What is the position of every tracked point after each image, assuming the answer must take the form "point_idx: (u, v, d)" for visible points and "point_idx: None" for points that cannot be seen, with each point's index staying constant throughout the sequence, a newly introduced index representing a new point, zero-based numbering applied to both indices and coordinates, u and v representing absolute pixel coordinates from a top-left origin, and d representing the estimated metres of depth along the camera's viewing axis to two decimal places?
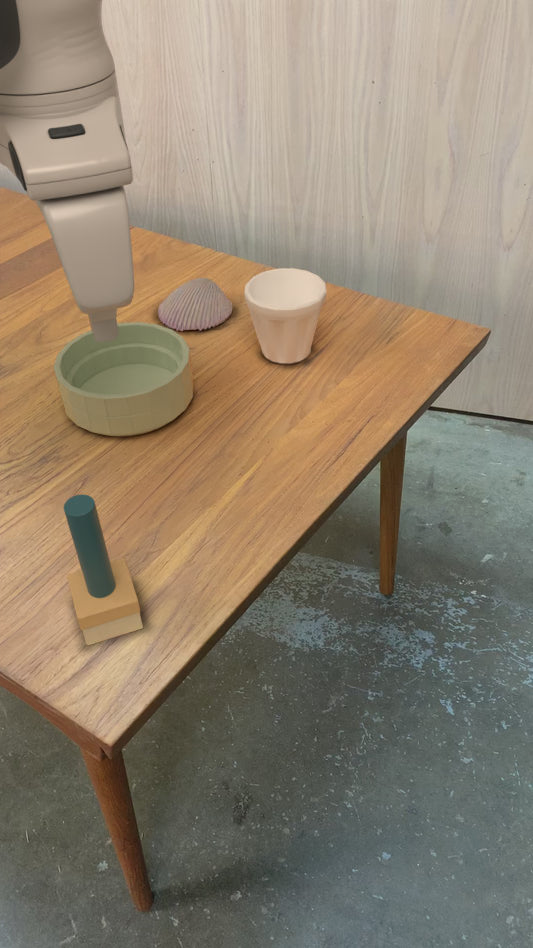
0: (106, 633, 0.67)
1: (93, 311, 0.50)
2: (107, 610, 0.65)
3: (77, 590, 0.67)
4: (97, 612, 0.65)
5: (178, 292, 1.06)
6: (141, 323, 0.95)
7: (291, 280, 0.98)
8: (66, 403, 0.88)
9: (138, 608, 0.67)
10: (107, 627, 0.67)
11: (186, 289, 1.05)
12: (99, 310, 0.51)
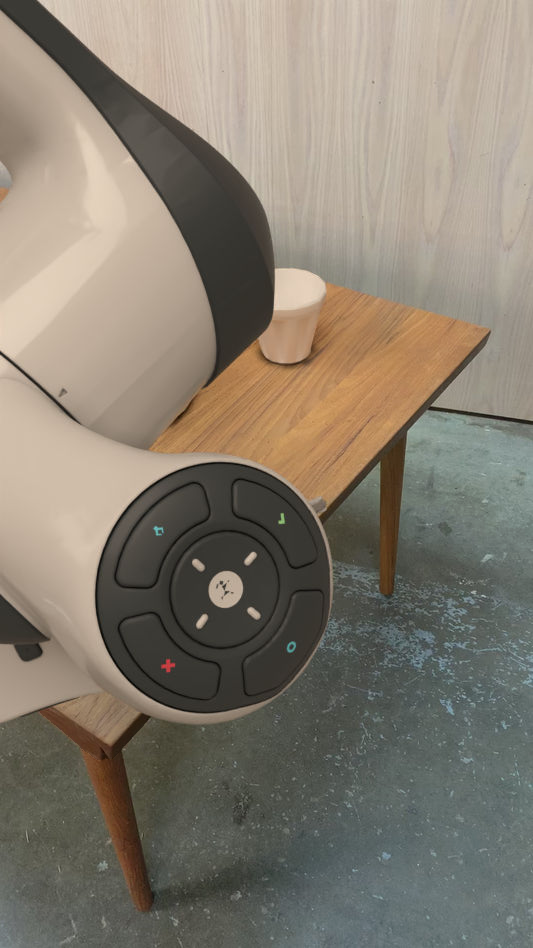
0: None
1: None
2: None
3: None
4: None
5: None
6: None
7: (291, 280, 0.98)
8: None
9: None
10: None
11: None
12: None
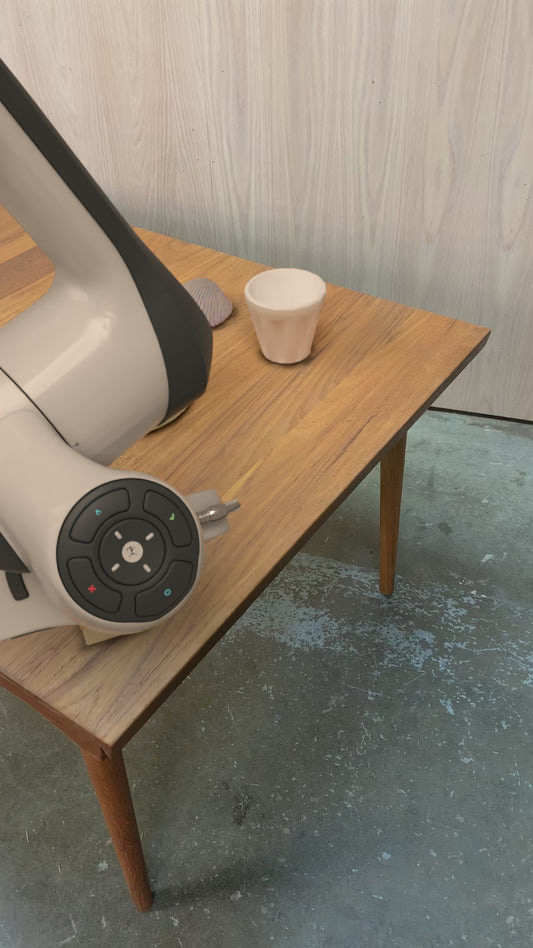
0: (106, 633, 0.67)
1: None
2: None
3: None
4: None
5: None
6: None
7: (291, 280, 0.98)
8: None
9: None
10: None
11: (186, 289, 1.05)
12: None
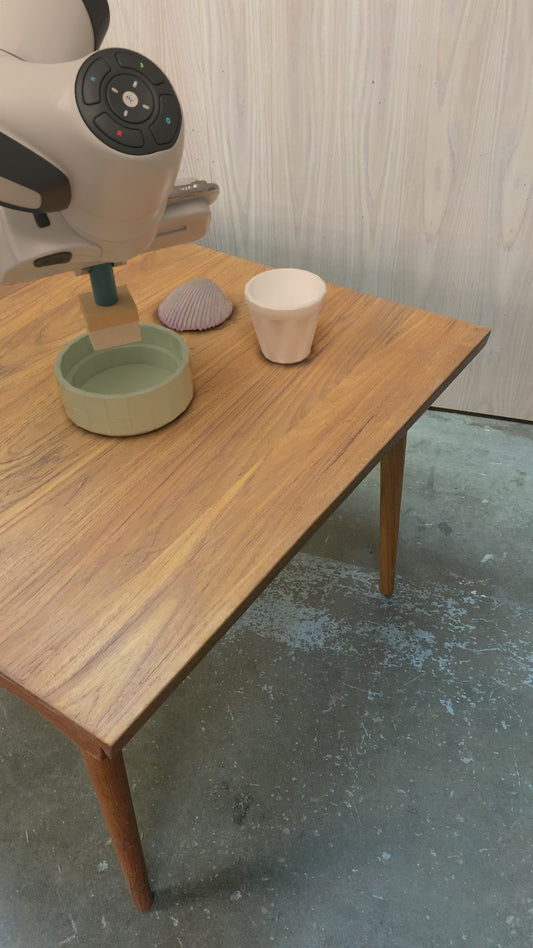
0: (110, 340, 0.81)
1: None
2: (111, 313, 0.79)
3: (86, 303, 0.80)
4: (103, 314, 0.78)
5: (178, 292, 1.06)
6: (141, 323, 0.95)
7: (291, 280, 0.98)
8: (66, 403, 0.88)
9: (137, 316, 0.80)
10: (111, 332, 0.80)
11: (186, 289, 1.05)
12: None
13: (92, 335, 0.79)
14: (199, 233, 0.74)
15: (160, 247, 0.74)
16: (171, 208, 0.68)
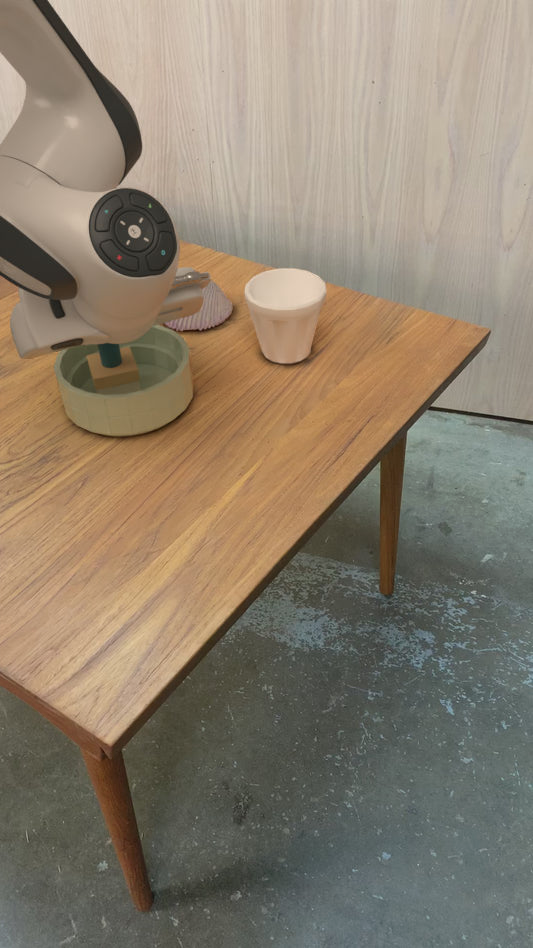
0: None
1: None
2: (115, 374, 0.89)
3: (93, 364, 0.91)
4: (108, 375, 0.89)
5: None
6: None
7: (291, 280, 0.98)
8: (66, 403, 0.88)
9: (138, 376, 0.90)
10: (115, 390, 0.90)
11: None
12: None
13: (98, 393, 0.90)
14: (193, 310, 0.85)
15: (159, 323, 0.85)
16: (169, 294, 0.79)
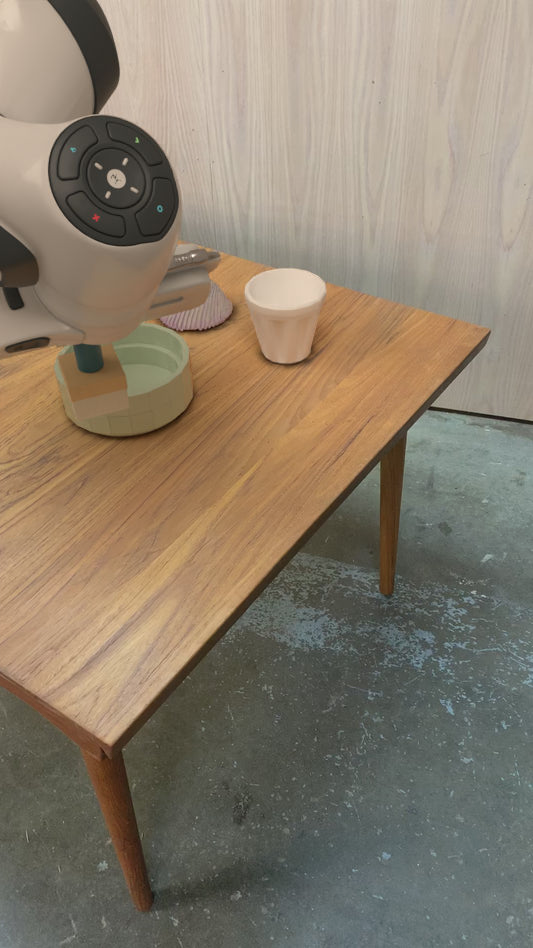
0: (95, 409, 0.72)
1: None
2: (97, 382, 0.70)
3: (67, 368, 0.71)
4: (87, 384, 0.69)
5: None
6: (141, 323, 0.95)
7: (291, 280, 0.98)
8: (66, 403, 0.88)
9: (125, 384, 0.71)
10: (96, 402, 0.71)
11: None
12: None
13: (75, 405, 0.71)
14: (197, 302, 0.65)
15: (153, 318, 0.65)
16: (165, 280, 0.59)
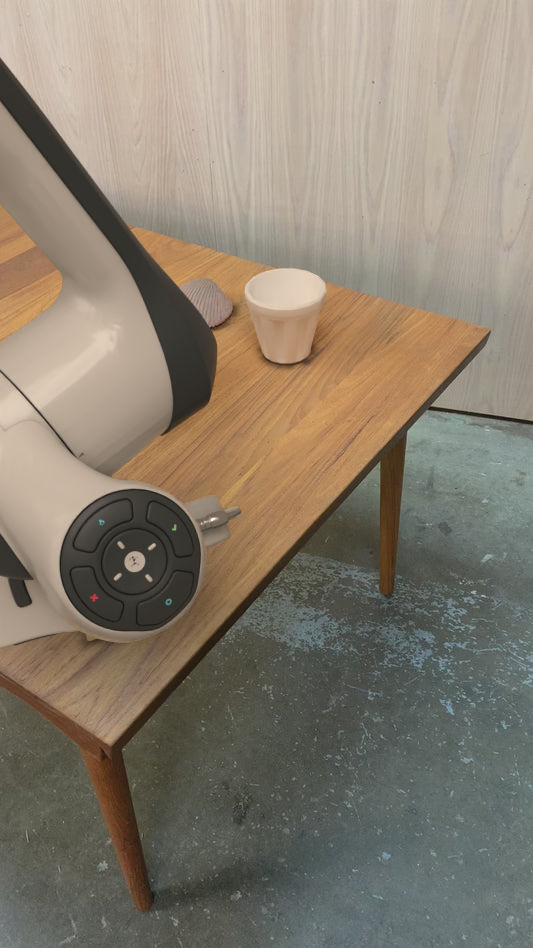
0: None
1: None
2: None
3: None
4: None
5: None
6: None
7: (291, 280, 0.98)
8: None
9: None
10: None
11: (186, 289, 1.05)
12: None
13: None
14: None
15: None
16: None
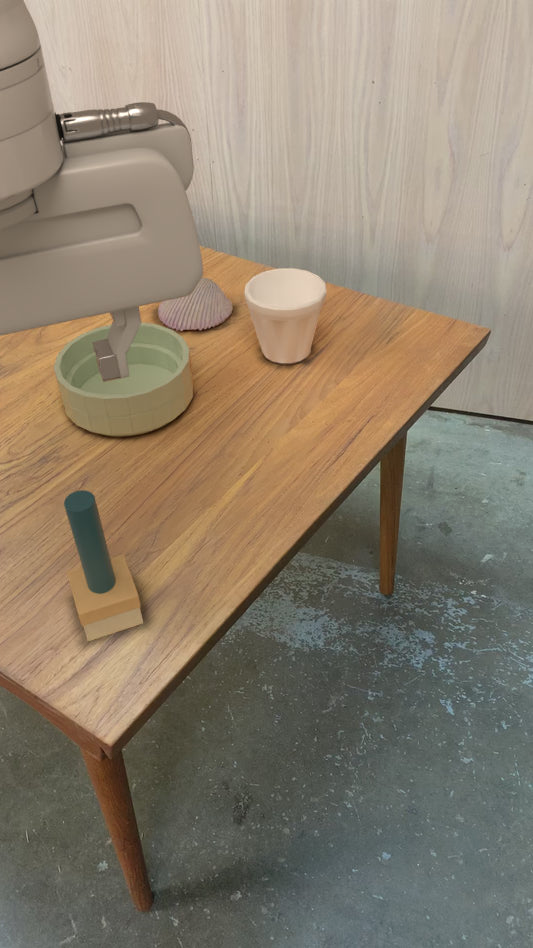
0: (107, 628, 0.68)
1: None
2: (108, 605, 0.66)
3: (77, 587, 0.67)
4: (98, 607, 0.66)
5: None
6: (141, 323, 0.95)
7: (291, 280, 0.98)
8: (66, 403, 0.88)
9: (138, 603, 0.67)
10: (107, 622, 0.67)
11: None
12: None
13: (85, 628, 0.67)
14: (179, 256, 0.38)
15: (110, 295, 0.38)
16: (91, 158, 0.35)
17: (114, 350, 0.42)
